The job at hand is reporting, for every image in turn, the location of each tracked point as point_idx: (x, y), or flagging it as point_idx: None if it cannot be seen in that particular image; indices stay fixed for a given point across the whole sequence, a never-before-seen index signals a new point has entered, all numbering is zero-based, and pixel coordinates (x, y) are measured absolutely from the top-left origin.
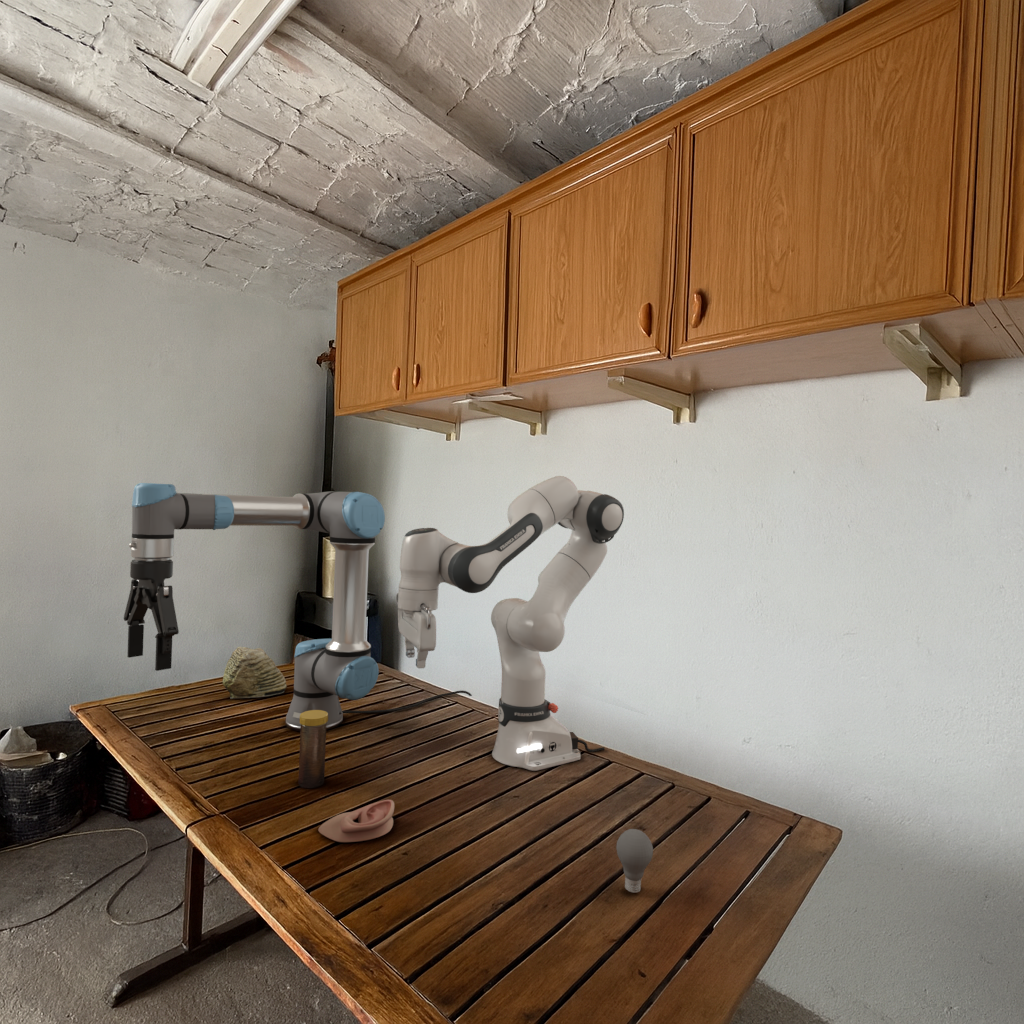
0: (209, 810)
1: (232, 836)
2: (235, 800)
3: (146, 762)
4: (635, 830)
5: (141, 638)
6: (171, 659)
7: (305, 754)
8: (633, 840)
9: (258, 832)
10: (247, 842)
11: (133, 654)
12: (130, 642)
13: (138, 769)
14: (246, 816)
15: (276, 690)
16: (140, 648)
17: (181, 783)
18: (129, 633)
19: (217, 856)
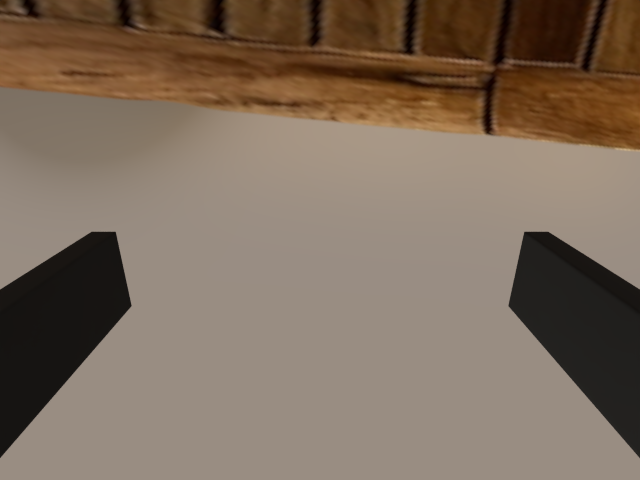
0: (467, 75)
1: (592, 94)
2: (473, 8)
3: (130, 66)
4: None
5: (35, 303)
6: (583, 254)
7: None
8: None
9: (627, 49)
10: (635, 85)
11: (118, 290)
12: (75, 363)
13: (162, 97)
14: (554, 30)
15: None
16: (90, 268)
17: (302, 58)
18: (18, 429)
19: (622, 146)
